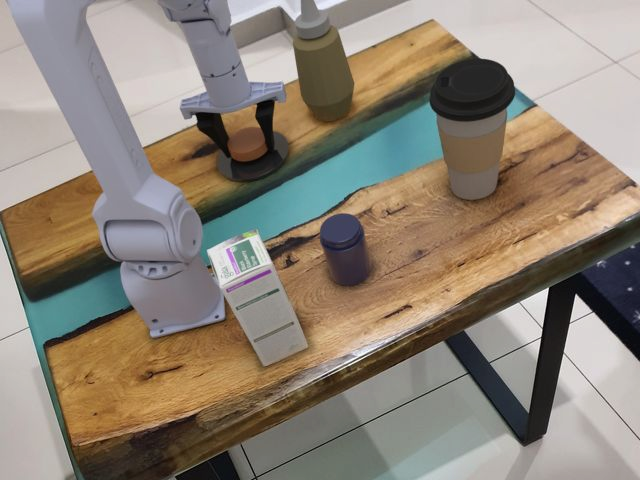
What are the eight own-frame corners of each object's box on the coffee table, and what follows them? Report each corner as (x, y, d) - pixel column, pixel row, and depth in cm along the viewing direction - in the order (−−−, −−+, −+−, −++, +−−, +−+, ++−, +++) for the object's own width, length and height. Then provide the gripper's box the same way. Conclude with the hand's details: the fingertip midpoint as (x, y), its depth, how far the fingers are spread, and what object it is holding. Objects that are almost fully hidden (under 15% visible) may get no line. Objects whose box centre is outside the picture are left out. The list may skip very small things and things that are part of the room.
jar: (334, 291, 78) (321, 249, 72) (326, 260, 81) (313, 218, 75) (376, 279, 77) (366, 236, 71) (367, 249, 80) (357, 206, 75)
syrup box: (310, 348, 73) (275, 261, 62) (262, 369, 73) (218, 286, 61) (294, 313, 77) (258, 225, 65) (248, 334, 76) (203, 248, 65)
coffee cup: (425, 177, 86) (413, 75, 74) (489, 150, 86) (488, 44, 74) (458, 220, 80) (451, 116, 68) (527, 191, 81) (532, 83, 69)
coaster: (220, 190, 93) (218, 187, 92) (216, 144, 99) (215, 141, 99) (294, 170, 92) (293, 167, 92) (285, 125, 99) (284, 122, 98)
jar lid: (271, 132, 96) (269, 123, 94) (267, 158, 92) (264, 150, 91) (233, 138, 97) (229, 129, 96) (227, 164, 93) (224, 155, 92)
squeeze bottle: (298, 109, 101) (265, -9, 86) (344, 87, 101) (320, -32, 87) (319, 134, 96) (288, 15, 81) (367, 112, 97) (345, -11, 82)
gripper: (275, 37, 85) (300, 125, 96) (172, 57, 88) (207, 140, 98) (272, 67, 81) (298, 155, 92) (163, 87, 83) (201, 171, 94)
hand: (251, 150), depth 95 cm, fingers closed on jar lid, 6 cm apart
